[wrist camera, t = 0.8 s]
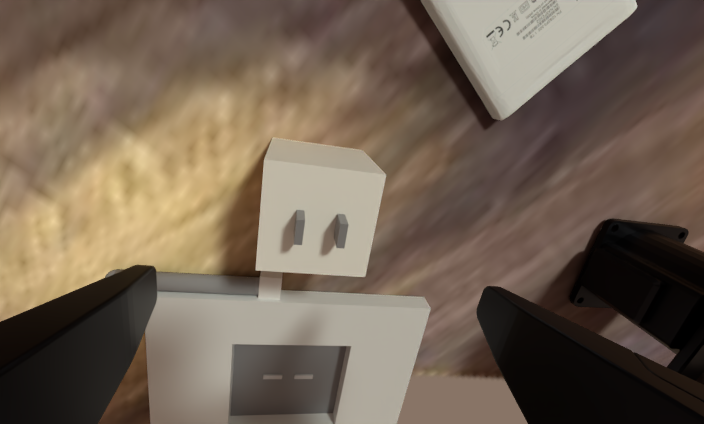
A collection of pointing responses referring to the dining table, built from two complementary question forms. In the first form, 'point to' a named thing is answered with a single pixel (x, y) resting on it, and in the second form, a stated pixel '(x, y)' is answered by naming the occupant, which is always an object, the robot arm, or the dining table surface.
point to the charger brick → (317, 209)
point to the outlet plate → (281, 357)
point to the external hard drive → (521, 41)
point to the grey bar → (220, 283)
